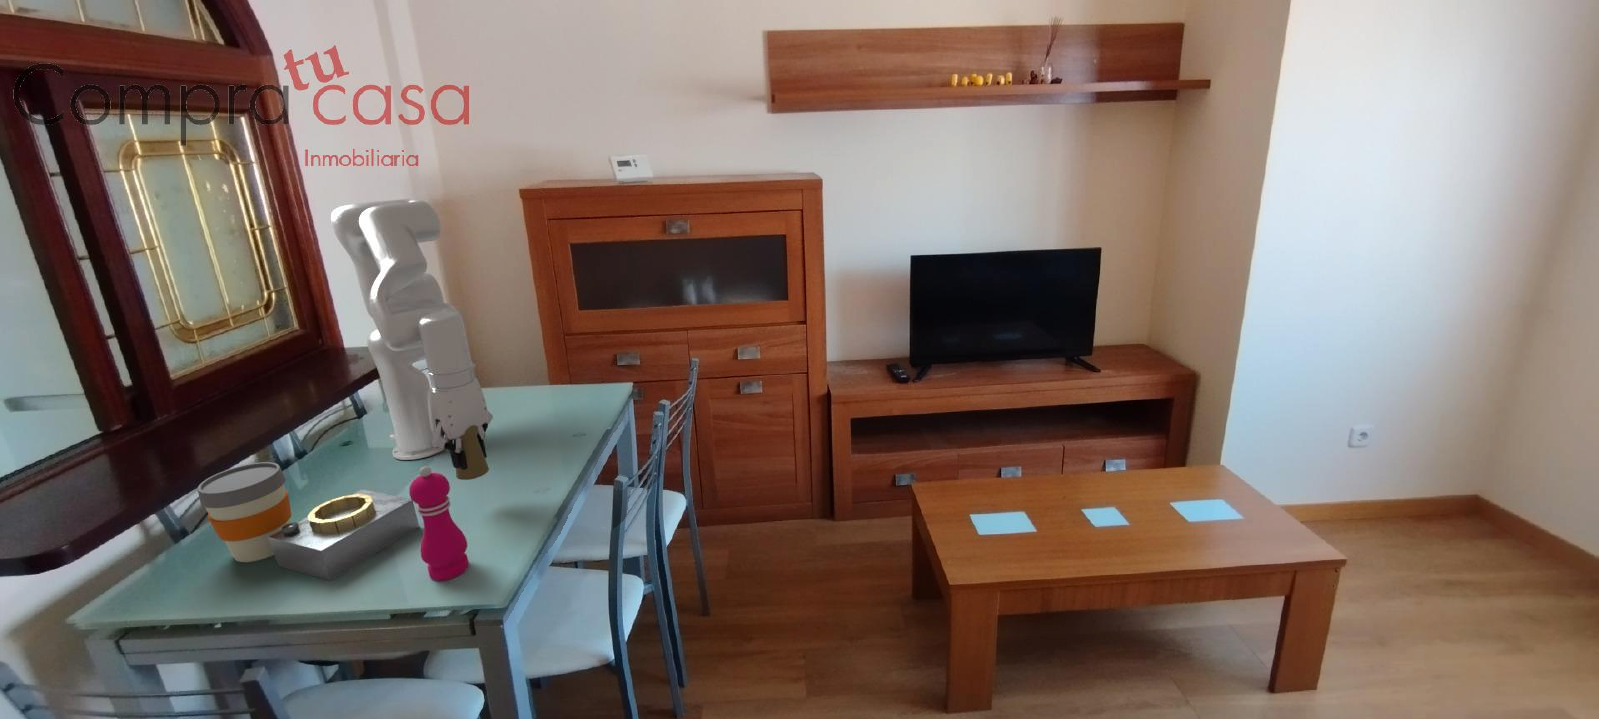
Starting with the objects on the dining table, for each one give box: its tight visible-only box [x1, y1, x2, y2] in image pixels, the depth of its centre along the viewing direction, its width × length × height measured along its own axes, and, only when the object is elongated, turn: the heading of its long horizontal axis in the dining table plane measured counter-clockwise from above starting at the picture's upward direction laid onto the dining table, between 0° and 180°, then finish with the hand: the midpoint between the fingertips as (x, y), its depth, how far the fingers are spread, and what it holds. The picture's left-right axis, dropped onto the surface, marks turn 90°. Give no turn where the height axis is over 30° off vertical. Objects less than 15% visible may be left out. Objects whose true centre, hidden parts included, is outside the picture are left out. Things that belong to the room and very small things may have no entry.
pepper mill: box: [408, 466, 470, 582], centre depth 118 cm, size 7×7×20 cm
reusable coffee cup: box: [197, 461, 292, 563], centre depth 129 cm, size 12×12×15 cm
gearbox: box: [269, 488, 420, 581], centre depth 129 cm, size 14×18×8 cm
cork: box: [455, 425, 490, 481], centre depth 137 cm, size 6×6×11 cm
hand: (470, 461), depth 138 cm, fingers closed on cork, 4 cm apart
